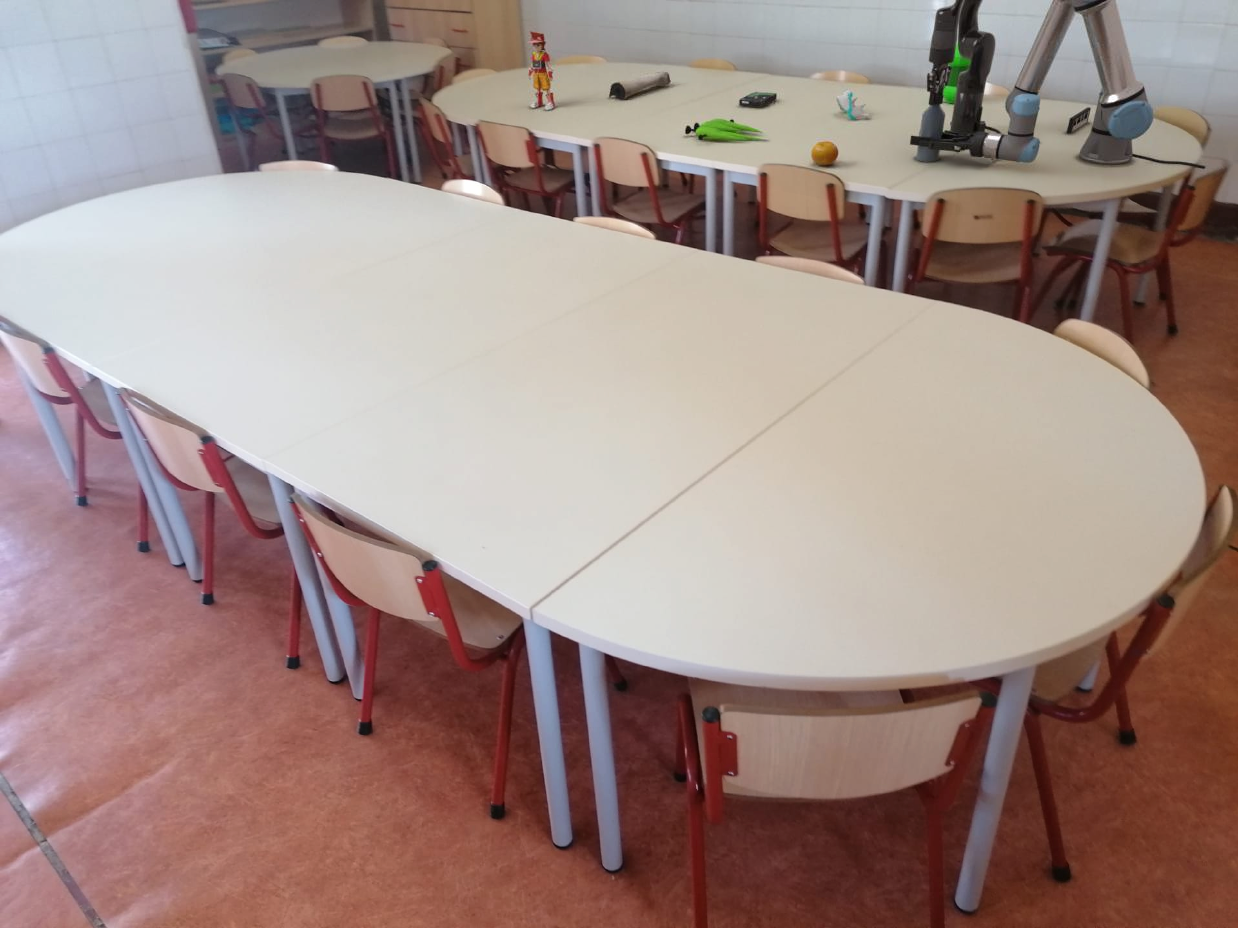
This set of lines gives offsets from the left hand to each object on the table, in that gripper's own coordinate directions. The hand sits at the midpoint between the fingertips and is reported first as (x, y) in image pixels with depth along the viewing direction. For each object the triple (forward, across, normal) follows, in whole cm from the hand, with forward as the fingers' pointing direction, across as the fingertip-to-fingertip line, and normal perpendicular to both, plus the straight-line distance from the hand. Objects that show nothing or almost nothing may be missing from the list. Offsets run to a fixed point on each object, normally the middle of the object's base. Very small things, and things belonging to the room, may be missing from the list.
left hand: (935, 103), depth 287 cm
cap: (-2, 0, 0) cm, 2 cm away
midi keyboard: (+18, -59, +30) cm, 68 cm away
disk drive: (+18, -39, -90) cm, 99 cm away
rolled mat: (+18, -33, -147) cm, 152 cm away
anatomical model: (+18, -38, -48) cm, 64 cm away
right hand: (+11, 0, -5) cm, 12 cm away
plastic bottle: (+18, -75, -22) cm, 80 cm away
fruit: (+18, +22, -26) cm, 38 cm away
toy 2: (+18, +9, -73) cm, 75 cm away
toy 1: (+18, +8, -168) cm, 169 cm away
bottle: (+18, 0, 0) cm, 18 cm away
